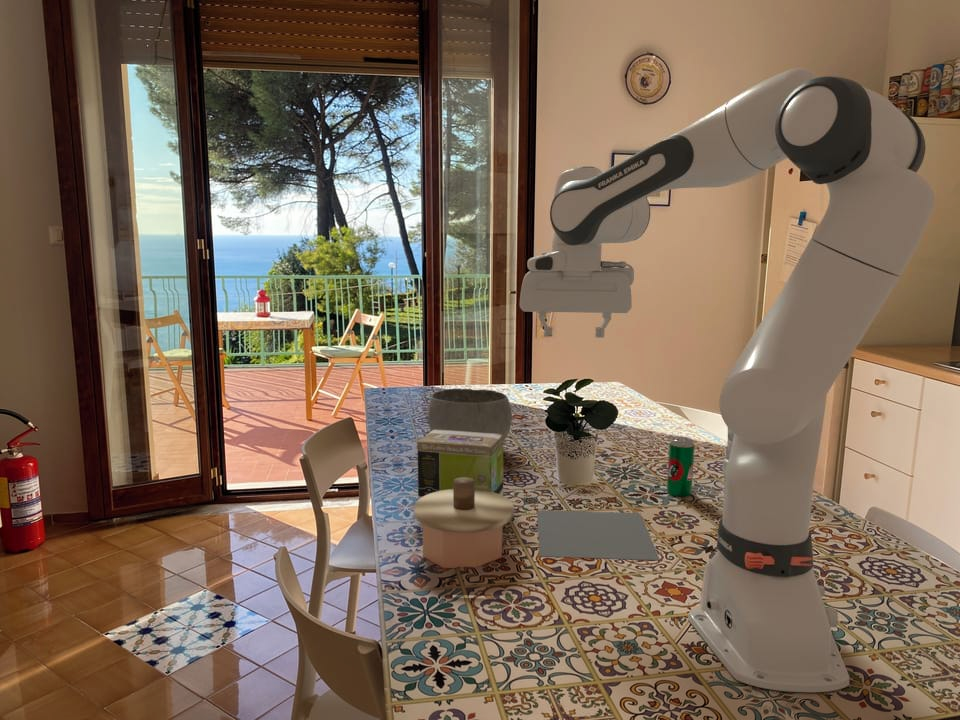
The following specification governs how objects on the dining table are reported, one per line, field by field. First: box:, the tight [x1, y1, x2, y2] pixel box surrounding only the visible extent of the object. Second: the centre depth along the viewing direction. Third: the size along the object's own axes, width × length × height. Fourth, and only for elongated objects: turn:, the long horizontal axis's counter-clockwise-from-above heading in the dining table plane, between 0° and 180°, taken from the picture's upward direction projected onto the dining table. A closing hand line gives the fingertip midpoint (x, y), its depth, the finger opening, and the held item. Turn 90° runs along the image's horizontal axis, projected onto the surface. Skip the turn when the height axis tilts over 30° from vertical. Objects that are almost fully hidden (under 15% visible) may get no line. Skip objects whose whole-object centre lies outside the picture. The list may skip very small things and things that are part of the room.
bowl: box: [427, 388, 513, 442], centre depth 174 cm, size 20×20×15 cm
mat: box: [536, 509, 661, 561], centre depth 128 cm, size 20×20×1 cm
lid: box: [413, 477, 515, 533], centre depth 120 cm, size 17×17×6 cm
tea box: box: [416, 429, 504, 500], centre depth 139 cm, size 15×10×15 cm, turn 74°
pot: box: [422, 524, 504, 569], centre depth 121 cm, size 13×13×7 cm
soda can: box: [666, 436, 696, 498], centre depth 147 cm, size 5×5×12 cm
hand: (573, 336), depth 130 cm, fingers open, 8 cm apart
